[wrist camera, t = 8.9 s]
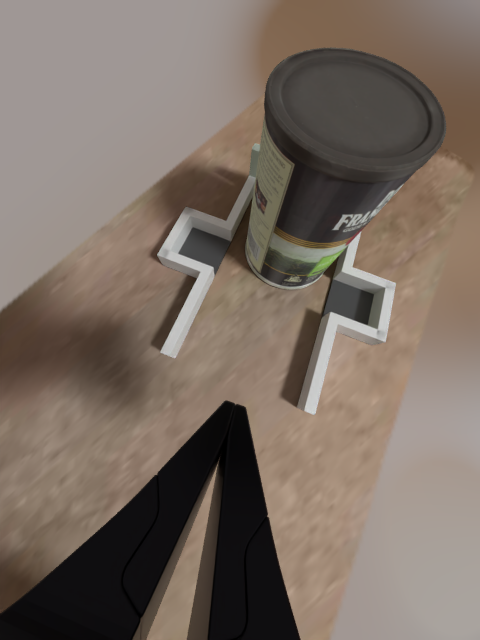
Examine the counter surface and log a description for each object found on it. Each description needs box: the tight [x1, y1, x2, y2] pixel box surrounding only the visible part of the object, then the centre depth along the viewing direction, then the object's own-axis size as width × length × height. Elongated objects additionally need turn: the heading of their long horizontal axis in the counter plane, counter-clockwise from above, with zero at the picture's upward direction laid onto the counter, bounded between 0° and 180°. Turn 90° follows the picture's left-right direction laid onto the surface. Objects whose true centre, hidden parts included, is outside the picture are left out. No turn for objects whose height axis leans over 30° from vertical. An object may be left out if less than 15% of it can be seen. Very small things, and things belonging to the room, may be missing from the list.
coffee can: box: [245, 48, 446, 290], centre depth 18 cm, size 10×10×14 cm
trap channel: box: [157, 143, 396, 415], centre depth 21 cm, size 24×25×5 cm
